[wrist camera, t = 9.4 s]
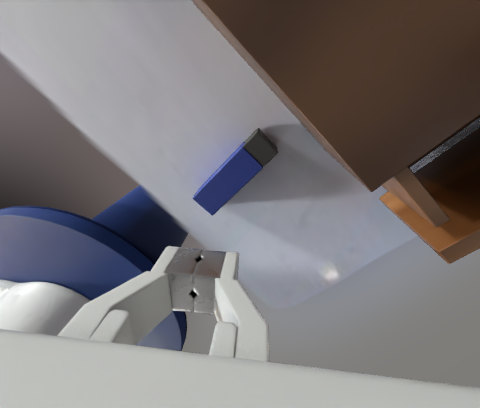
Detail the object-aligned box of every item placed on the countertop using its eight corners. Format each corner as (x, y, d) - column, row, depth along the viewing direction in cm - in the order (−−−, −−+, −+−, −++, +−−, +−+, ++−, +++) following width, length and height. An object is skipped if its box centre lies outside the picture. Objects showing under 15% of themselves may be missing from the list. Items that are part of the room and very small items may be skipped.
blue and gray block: (217, 204, 23) (212, 216, 21) (199, 188, 23) (191, 198, 20) (277, 147, 20) (278, 153, 18) (258, 127, 20) (257, 130, 18)
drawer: (563, 154, 17) (765, 195, 10) (416, 241, 22) (489, 311, 15) (433, -72, 13) (621, -260, 6) (282, 89, 17) (294, 84, 10)
